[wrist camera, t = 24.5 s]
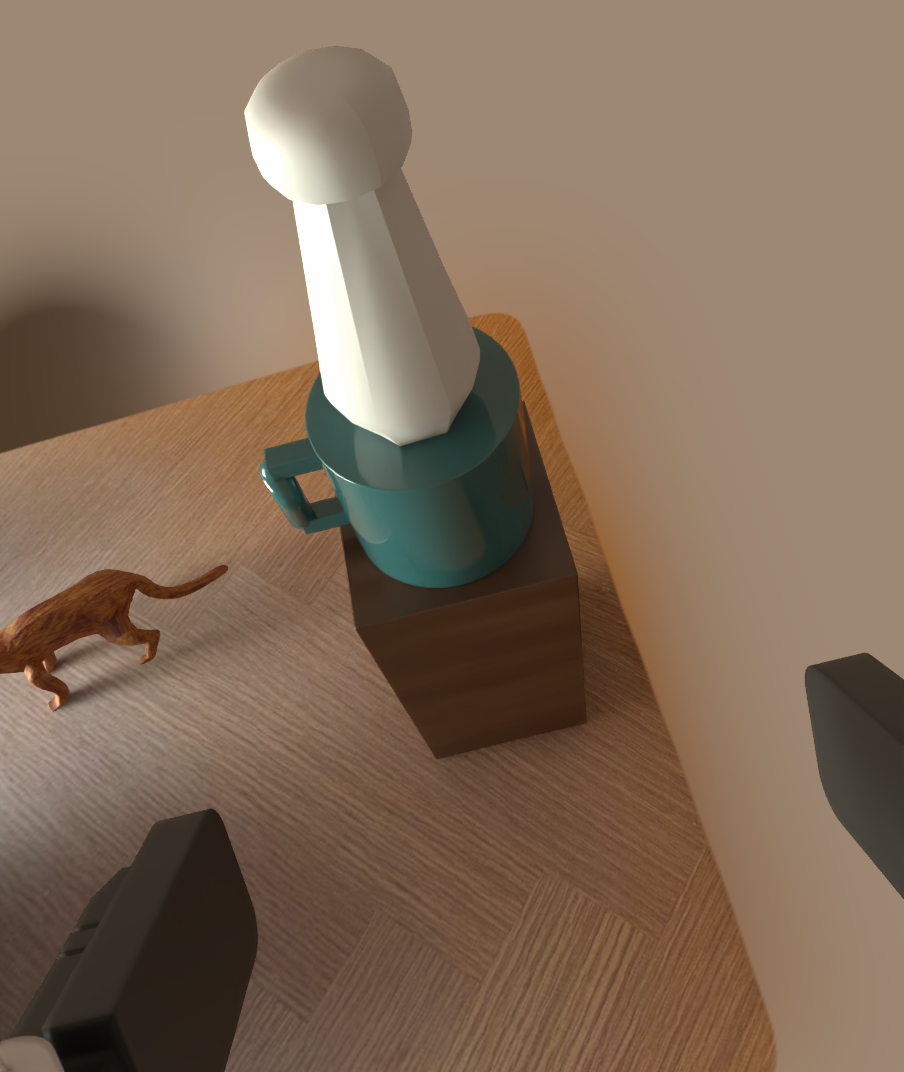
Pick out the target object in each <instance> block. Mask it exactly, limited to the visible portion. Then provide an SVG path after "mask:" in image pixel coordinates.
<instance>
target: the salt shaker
mask: <svg viewBox="0 0 904 1072" xmlns="http://www.w3.org/2000/svg"><path fill="white" fill-rule="evenodd" d="M244 113H245V118H246V124H247V131H248V135H249V141H250V145H251V150H252V155H253V158H254V160H255V162H256V164H257V166H258V168H259V170H260V172H261V174H262V176H263V177H264V178H265V179H266V180H267V182H268V183H269V184H270V185H271V186H273V187H274V188H275V189H277V190H278V191H279V192H280V193H281V194H283V195H284V196H285V197H286V198H288V199H289V200H293V205H294V211H295V218H296V224H297V230H298V236H299V242H300V247H301V254H302V260H303V266H304V272H305V278H306V285H307V291H308V297H309V303H310V309H311V315H312V321H313V327H314V333H315V339H316V345H317V352H318V358H319V365H320V372H321V377H322V383H323V389H324V394H325V396H326V397H327V399H328V400H329V401H330V403H331V404H332V405H333V406H334V407H336V408H337V409H338V410H339V411H340V412H341V413H342V414H343V415H344V416H345V417H346V418H347V419H348V420H350V421H351V422H352V423H353V424H356V425H358V426H360V427H362V428H365V429H367V430H369V431H371V432H374V433H376V434H378V435H380V436H382V437H384V438H386V439H388V440H389V441H391V442H393V443H395V444H397V445H398V446H403V445H407V444H410V443H414V442H417V441H421V440H424V439H428V438H431V437H434V436H438V435H441V434H445V433H447V432H448V430H449V428H450V426H451V424H452V423H453V421H454V419H455V417H456V415H457V414H458V412H459V410H460V409H461V407H462V405H463V404H464V402H465V400H466V398H467V397H468V395H469V393H470V392H471V390H472V388H473V386H474V382H475V378H476V374H477V370H478V366H479V362H480V348H479V345H478V343H477V340H476V337H475V334H474V331H473V328H472V326H471V323H470V321H469V319H468V317H467V315H466V313H465V310H464V308H463V306H462V304H461V302H460V300H459V298H458V296H457V293H456V291H455V289H454V287H453V285H452V283H451V281H450V279H449V276H448V274H447V272H446V270H445V268H444V266H443V264H442V261H441V259H440V257H439V254H438V252H437V250H436V248H435V245H434V243H433V241H432V238H431V237H430V234H429V232H428V229H427V227H426V225H425V222H424V220H423V218H422V216H421V213H420V211H419V209H418V206H417V204H416V202H415V200H414V197H413V195H412V193H411V190H410V188H409V186H408V183H407V181H406V179H405V177H404V174H403V172H402V170H401V167H402V166H403V163H404V161H405V158H406V155H407V153H408V150H409V147H410V144H411V138H412V128H411V122H410V116H409V110H408V108H407V105H406V102H405V100H404V97H403V94H402V92H401V90H400V87H399V84H398V82H397V80H396V77H395V75H394V72H393V70H392V68H391V67H390V66H388V65H386V64H385V63H383V62H382V61H380V60H379V59H377V58H375V57H374V56H372V55H371V54H369V53H367V52H365V51H363V50H361V49H357V48H348V47H340V46H332V47H326V48H320V49H313V50H308V51H305V52H303V53H301V54H298V55H296V56H294V57H292V58H290V59H287V60H285V61H283V62H281V63H280V64H278V65H277V66H276V67H275V68H273V69H272V70H271V71H270V72H269V73H268V74H266V75H265V76H264V77H262V78H261V80H260V82H259V83H258V85H257V87H256V89H255V91H254V93H253V95H252V97H251V99H250V101H249V103H248V105H247V107H246V109H245V112H244Z"/></svg>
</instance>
